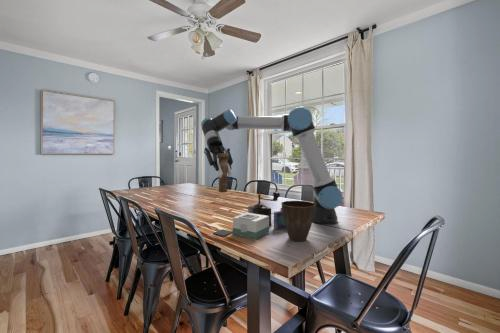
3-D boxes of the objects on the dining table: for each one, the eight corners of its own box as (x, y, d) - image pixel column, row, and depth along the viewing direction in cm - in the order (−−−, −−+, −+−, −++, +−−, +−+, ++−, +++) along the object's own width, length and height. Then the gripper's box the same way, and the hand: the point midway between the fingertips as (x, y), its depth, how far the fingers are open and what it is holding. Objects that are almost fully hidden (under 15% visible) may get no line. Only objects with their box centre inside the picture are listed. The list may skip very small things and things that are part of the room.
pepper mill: (253, 228, 126) (253, 193, 126) (247, 222, 137) (247, 190, 136) (281, 225, 131) (281, 192, 130) (273, 220, 142) (273, 189, 141)
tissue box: (269, 232, 120) (269, 214, 119) (255, 239, 109) (255, 220, 109) (247, 227, 127) (247, 211, 126) (232, 234, 116) (232, 216, 116)
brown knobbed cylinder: (230, 191, 118) (230, 153, 117) (223, 192, 113) (223, 153, 112) (222, 190, 121) (222, 153, 120) (215, 191, 116) (215, 153, 115)
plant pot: (291, 231, 121) (291, 199, 120) (320, 237, 111) (320, 203, 110) (274, 239, 109) (274, 204, 108) (305, 247, 100) (305, 208, 99)
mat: (233, 232, 119) (233, 231, 119) (223, 236, 113) (223, 235, 113) (222, 230, 123) (222, 229, 123) (212, 234, 117) (212, 232, 117)
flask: (274, 230, 123) (275, 209, 122) (272, 228, 126) (272, 207, 125) (291, 228, 126) (291, 207, 125) (288, 226, 129) (288, 206, 128)
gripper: (226, 146, 133) (240, 179, 120) (196, 146, 125) (206, 181, 112) (230, 136, 128) (244, 169, 115) (199, 135, 121) (210, 170, 107)
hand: (225, 175), depth 113 cm, fingers closed on brown knobbed cylinder, 4 cm apart
